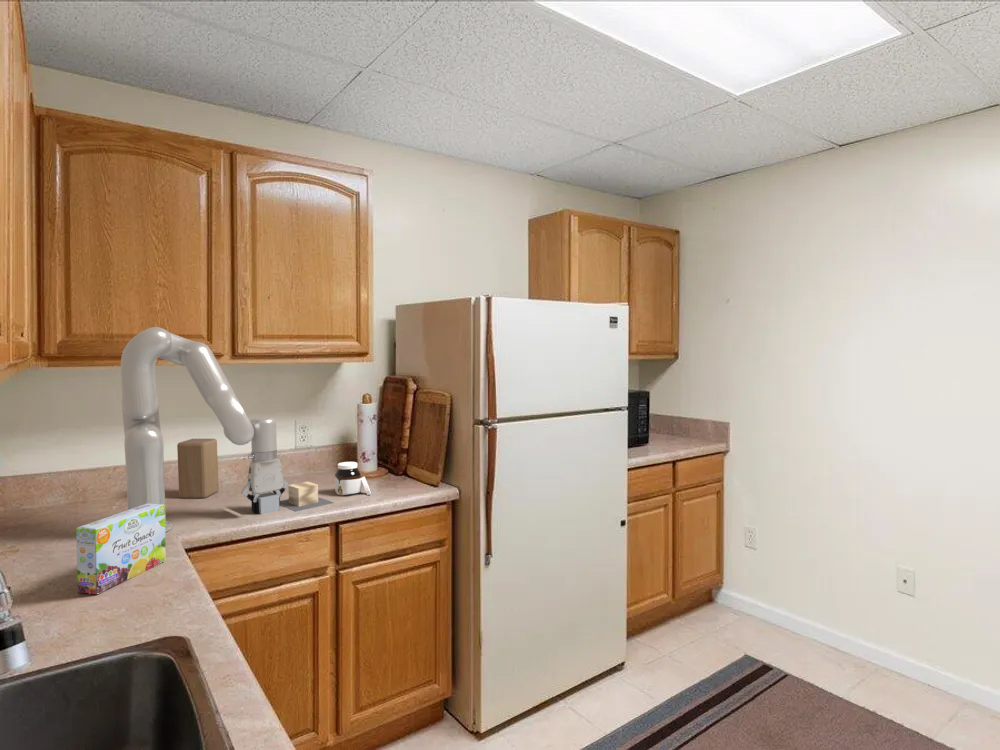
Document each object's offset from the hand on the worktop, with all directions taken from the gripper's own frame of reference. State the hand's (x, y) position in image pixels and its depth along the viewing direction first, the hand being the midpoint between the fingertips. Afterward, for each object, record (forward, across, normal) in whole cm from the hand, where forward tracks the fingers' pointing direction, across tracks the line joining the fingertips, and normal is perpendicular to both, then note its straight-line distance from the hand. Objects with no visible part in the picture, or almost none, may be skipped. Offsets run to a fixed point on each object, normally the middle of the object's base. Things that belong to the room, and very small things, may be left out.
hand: (266, 510), depth 194 cm
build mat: (+1, +13, 0) cm, 13 cm away
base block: (0, +13, 0) cm, 13 cm away
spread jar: (+1, +32, -1) cm, 32 cm away
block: (+1, -6, +41) cm, 41 cm away
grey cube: (+1, 0, 0) cm, 1 cm away
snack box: (+1, -46, -26) cm, 53 cm away
